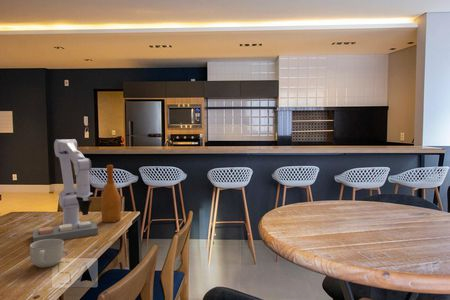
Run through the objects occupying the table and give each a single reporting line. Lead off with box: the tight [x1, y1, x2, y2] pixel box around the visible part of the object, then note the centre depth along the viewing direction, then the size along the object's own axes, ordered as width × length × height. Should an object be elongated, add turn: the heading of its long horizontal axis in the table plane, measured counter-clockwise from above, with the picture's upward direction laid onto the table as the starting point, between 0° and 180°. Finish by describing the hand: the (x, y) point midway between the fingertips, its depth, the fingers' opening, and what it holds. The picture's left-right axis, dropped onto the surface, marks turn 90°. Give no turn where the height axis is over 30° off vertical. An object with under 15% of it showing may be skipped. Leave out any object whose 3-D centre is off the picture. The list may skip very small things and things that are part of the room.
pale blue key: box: [78, 220, 91, 229], centre depth 152 cm, size 5×5×2 cm
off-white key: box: [58, 224, 72, 232], centre depth 147 cm, size 5×5×2 cm
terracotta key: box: [38, 226, 53, 235], centre depth 143 cm, size 5×5×2 cm
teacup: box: [29, 239, 65, 268], centre depth 115 cm, size 14×11×8 cm
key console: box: [32, 221, 99, 243], centre depth 148 cm, size 12×26×3 cm, turn 121°
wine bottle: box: [100, 164, 122, 223], centre depth 170 cm, size 10×10×30 cm
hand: (84, 212), depth 151 cm, fingers open, 7 cm apart
